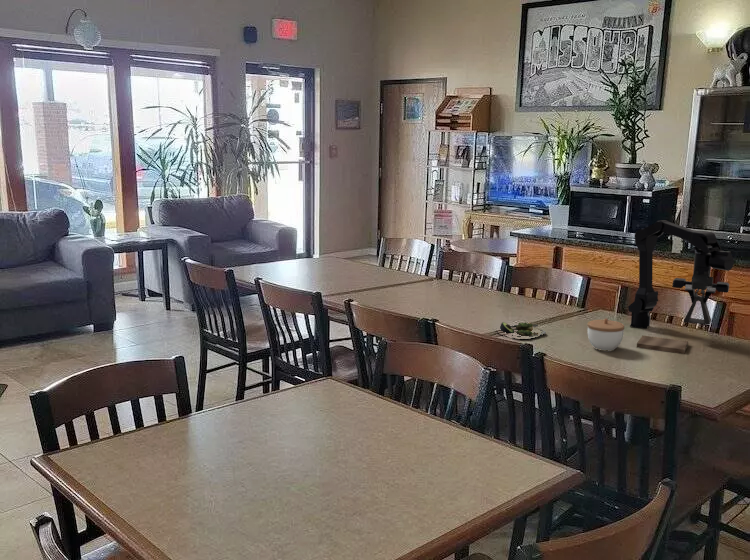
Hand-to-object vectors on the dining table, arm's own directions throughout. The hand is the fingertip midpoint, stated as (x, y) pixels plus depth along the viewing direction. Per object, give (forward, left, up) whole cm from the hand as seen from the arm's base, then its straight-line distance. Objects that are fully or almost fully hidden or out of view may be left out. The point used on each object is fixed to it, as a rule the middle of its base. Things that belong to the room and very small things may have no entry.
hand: (698, 307), depth 262 cm
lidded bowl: (-28, -26, -13) cm, 40 cm away
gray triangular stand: (0, 0, -6) cm, 6 cm away
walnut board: (-10, -13, -13) cm, 21 cm away
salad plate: (-61, -22, -14) cm, 66 cm away
